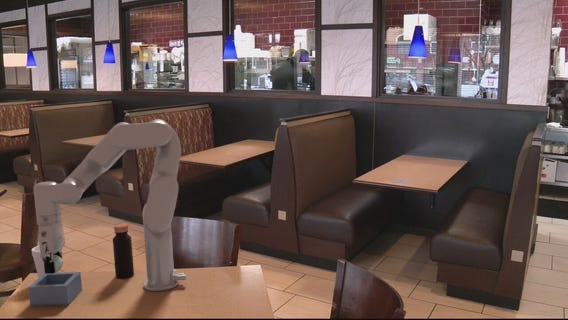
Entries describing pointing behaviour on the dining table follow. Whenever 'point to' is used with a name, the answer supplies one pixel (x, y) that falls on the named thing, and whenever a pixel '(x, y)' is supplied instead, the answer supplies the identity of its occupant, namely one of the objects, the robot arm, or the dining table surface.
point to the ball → (57, 262)
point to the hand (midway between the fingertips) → (54, 269)
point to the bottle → (123, 252)
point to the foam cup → (39, 261)
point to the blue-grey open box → (55, 289)
